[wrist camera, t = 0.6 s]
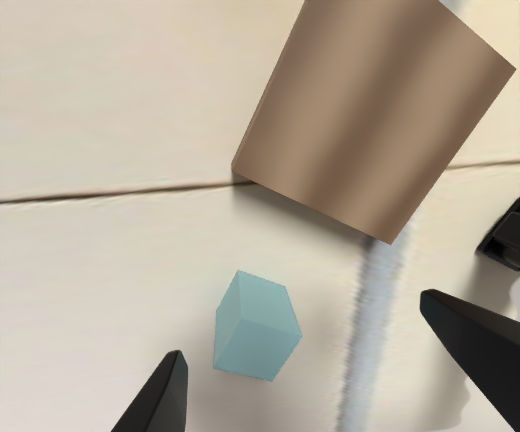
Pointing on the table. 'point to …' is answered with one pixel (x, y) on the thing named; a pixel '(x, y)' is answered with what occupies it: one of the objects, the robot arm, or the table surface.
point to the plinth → (369, 108)
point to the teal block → (254, 328)
